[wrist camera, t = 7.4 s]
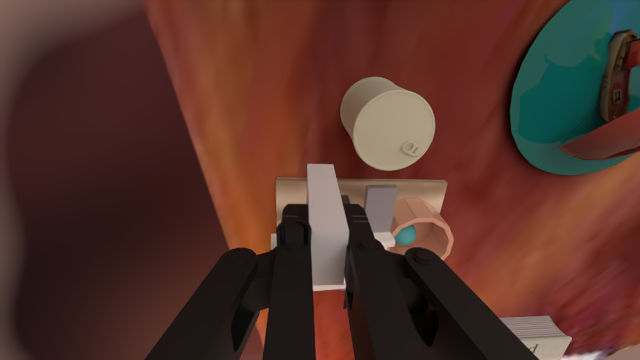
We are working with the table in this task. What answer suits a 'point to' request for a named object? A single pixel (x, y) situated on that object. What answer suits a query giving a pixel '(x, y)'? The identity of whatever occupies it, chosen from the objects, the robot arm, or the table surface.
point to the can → (387, 123)
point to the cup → (421, 227)
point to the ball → (406, 235)
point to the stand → (360, 191)
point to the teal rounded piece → (581, 89)
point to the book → (539, 336)
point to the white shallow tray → (371, 219)
